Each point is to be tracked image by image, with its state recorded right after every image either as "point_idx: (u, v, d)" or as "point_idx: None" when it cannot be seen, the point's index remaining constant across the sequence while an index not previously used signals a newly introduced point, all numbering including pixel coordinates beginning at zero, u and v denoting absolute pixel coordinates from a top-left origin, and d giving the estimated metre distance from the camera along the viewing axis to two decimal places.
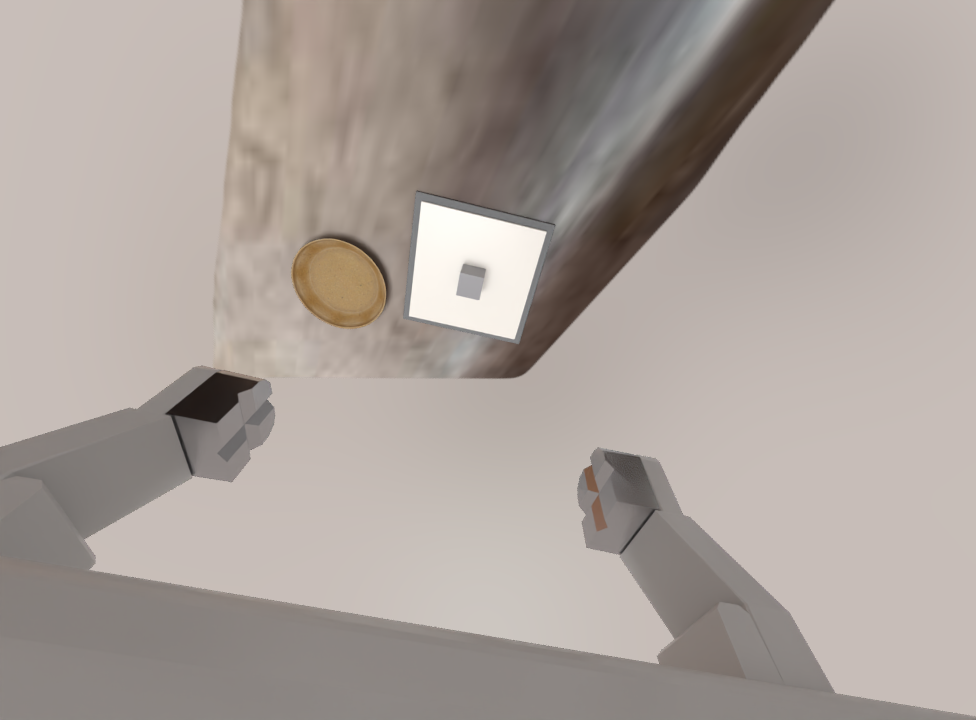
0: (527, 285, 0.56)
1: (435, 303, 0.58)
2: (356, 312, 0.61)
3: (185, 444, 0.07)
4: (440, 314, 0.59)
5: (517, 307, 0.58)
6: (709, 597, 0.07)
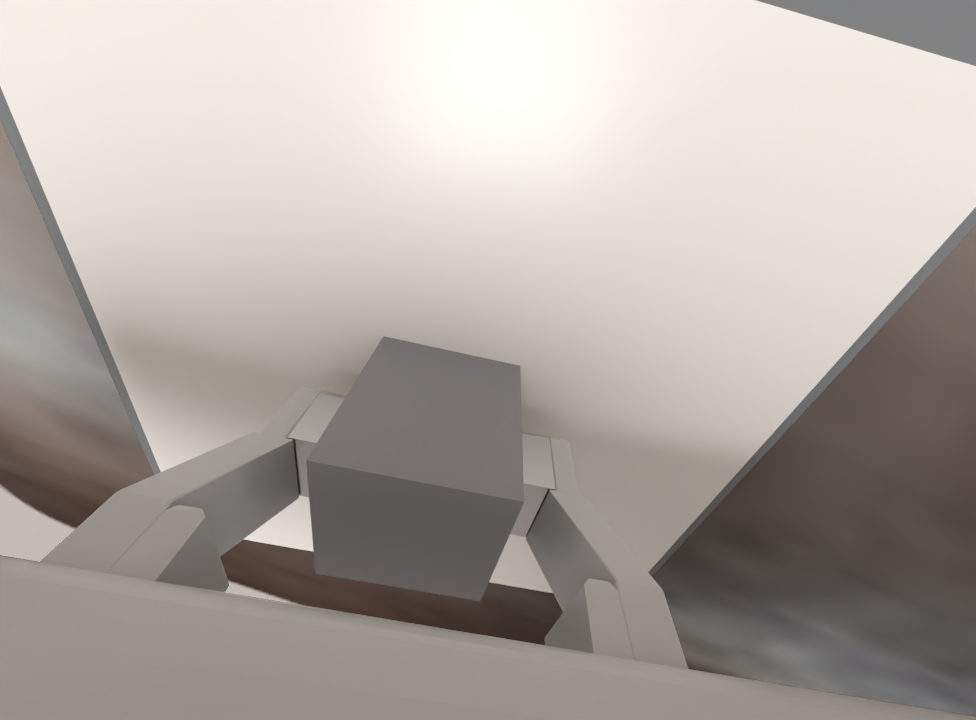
0: None
1: (189, 149, 0.07)
2: None
3: (300, 466, 0.07)
4: (115, 184, 0.07)
5: None
6: (591, 576, 0.06)
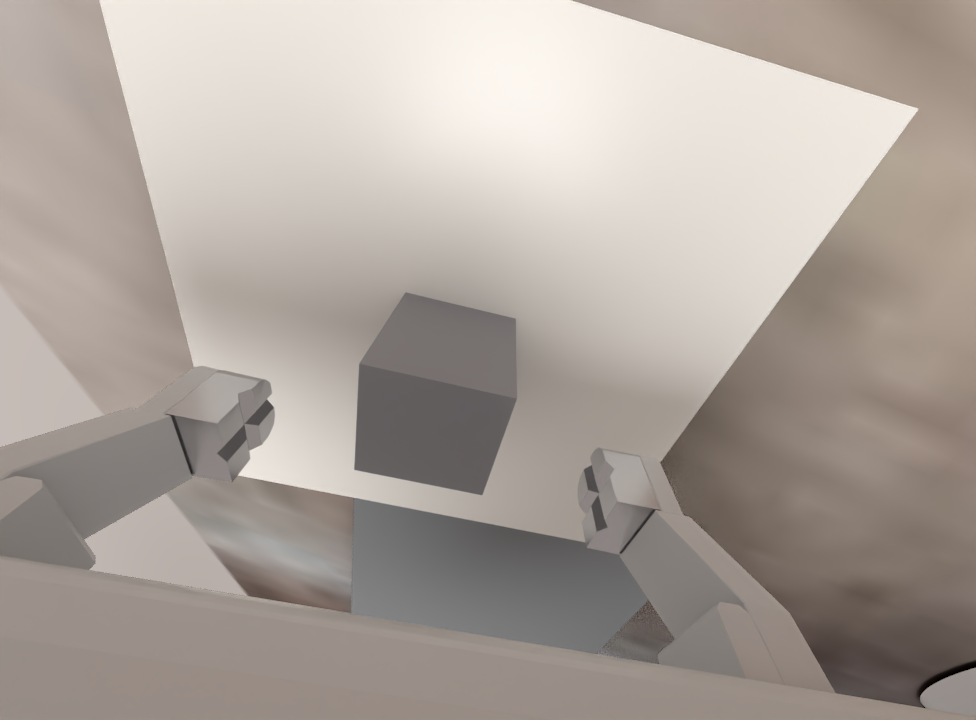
0: (433, 506, 0.17)
1: (263, 137, 0.09)
2: None
3: (185, 444, 0.07)
4: (200, 163, 0.09)
5: (349, 482, 0.16)
6: (709, 597, 0.07)
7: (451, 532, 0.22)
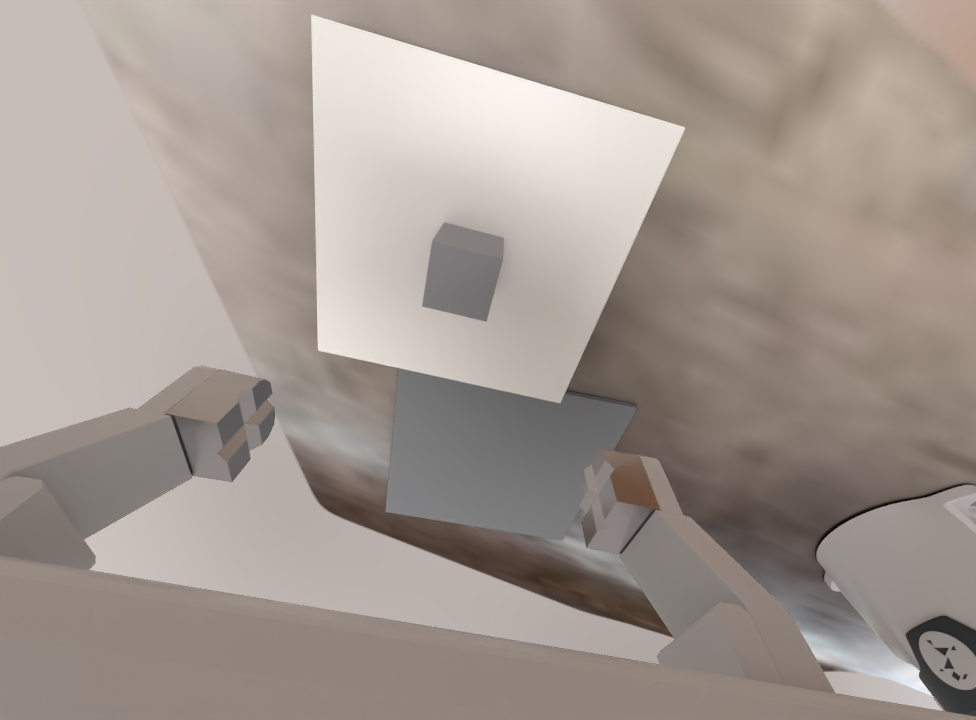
0: (452, 374, 0.26)
1: (378, 138, 0.19)
2: None
3: (185, 444, 0.07)
4: (345, 151, 0.19)
5: (400, 356, 0.26)
6: (709, 597, 0.07)
7: (463, 410, 0.31)
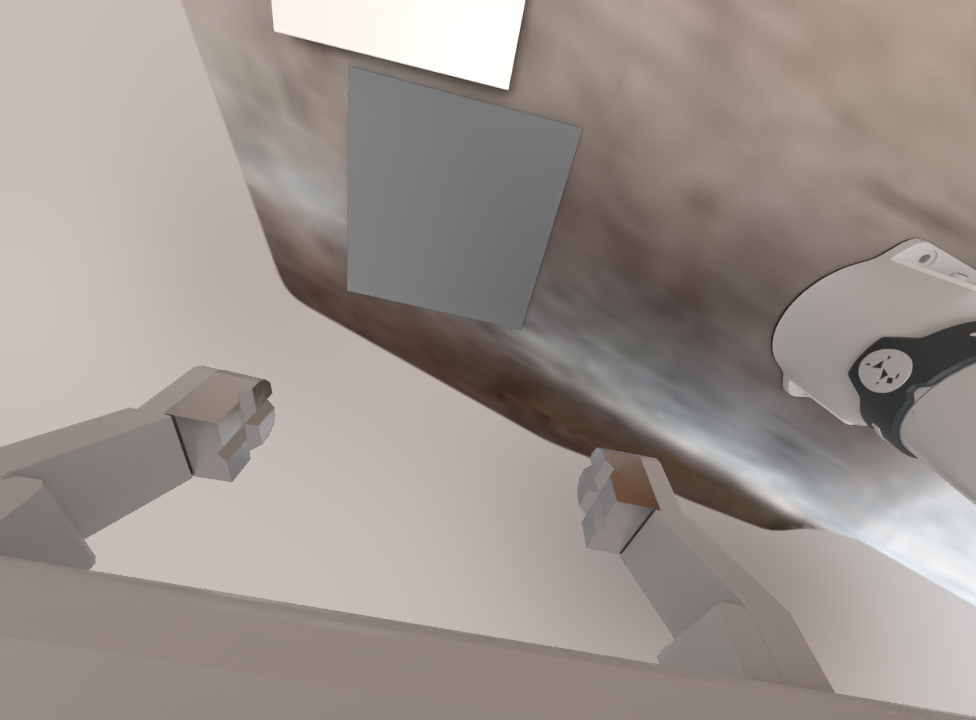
0: (402, 55, 0.27)
1: None
2: None
3: (185, 444, 0.07)
4: None
5: (351, 32, 0.27)
6: (709, 597, 0.07)
7: (414, 137, 0.32)
